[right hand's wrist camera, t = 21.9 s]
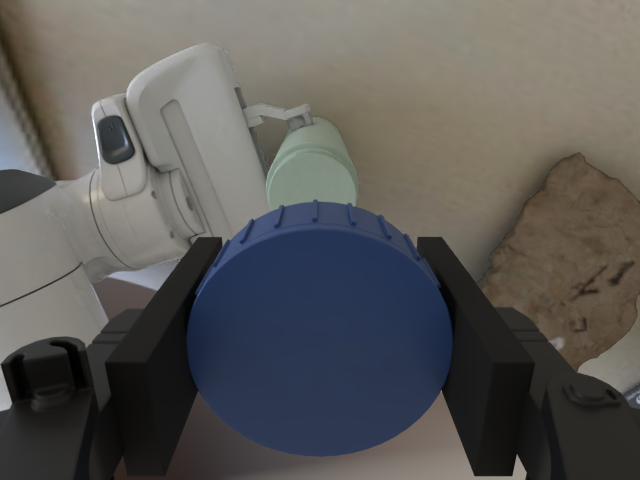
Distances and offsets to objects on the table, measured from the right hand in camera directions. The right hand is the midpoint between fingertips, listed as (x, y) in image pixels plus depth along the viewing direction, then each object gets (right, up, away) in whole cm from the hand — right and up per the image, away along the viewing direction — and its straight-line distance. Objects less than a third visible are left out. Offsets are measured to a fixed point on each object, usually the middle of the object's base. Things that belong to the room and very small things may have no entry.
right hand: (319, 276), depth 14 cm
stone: (+22, -1, +31) cm, 38 cm away
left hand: (0, +8, +20) cm, 21 cm away
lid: (0, -1, -4) cm, 4 cm away
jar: (-1, +10, +26) cm, 28 cm away
